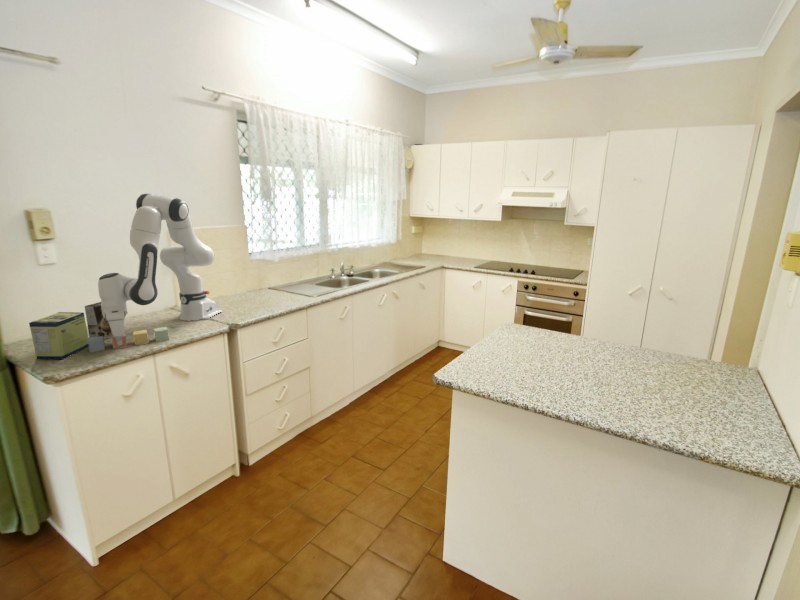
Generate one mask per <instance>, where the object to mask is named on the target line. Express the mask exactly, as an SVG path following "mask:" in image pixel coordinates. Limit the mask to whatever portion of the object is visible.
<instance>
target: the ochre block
mask: <svg viewBox="0 0 800 600" xmlns="http://www.w3.org/2000/svg"><path fill="white" fill-rule="evenodd" d="M132 334H133V340H134V345H135V346H139V344H140V345H144V343H146V344H149V336H148V331H147V329H143V330H134V331H133V333H132Z"/></svg>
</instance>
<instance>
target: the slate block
mask: <svg viewBox="0 0 800 600" xmlns="http://www.w3.org/2000/svg"><path fill="white" fill-rule="evenodd" d="M88 344H89V347H88V350H89V353H94V352H93V351H96V352H100V351H99V350H103V351H105V350H106V348H105V346H106V345H105V340H103V336H99V337H92V338H90V337H88Z"/></svg>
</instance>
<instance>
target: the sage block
mask: <svg viewBox="0 0 800 600" xmlns="http://www.w3.org/2000/svg"><path fill="white" fill-rule="evenodd" d="M153 331H154V339H155V342H157V341H158V342H164V341H163V340H165V341H169V340H170V337H169V330H168V327H167V326H163V327H155V328H153Z"/></svg>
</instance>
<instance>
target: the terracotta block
mask: <svg viewBox="0 0 800 600" xmlns="http://www.w3.org/2000/svg"><path fill="white" fill-rule="evenodd" d="M111 342H112V347H113V348H115V349H121V348H125V347H128V343H127V336H126V332H124V336H123V337H122V343H123V344H122V345H118V344H117V340H116V338H114V337H113V335H111ZM120 347H121V348H120ZM113 348H112V349H113Z"/></svg>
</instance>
